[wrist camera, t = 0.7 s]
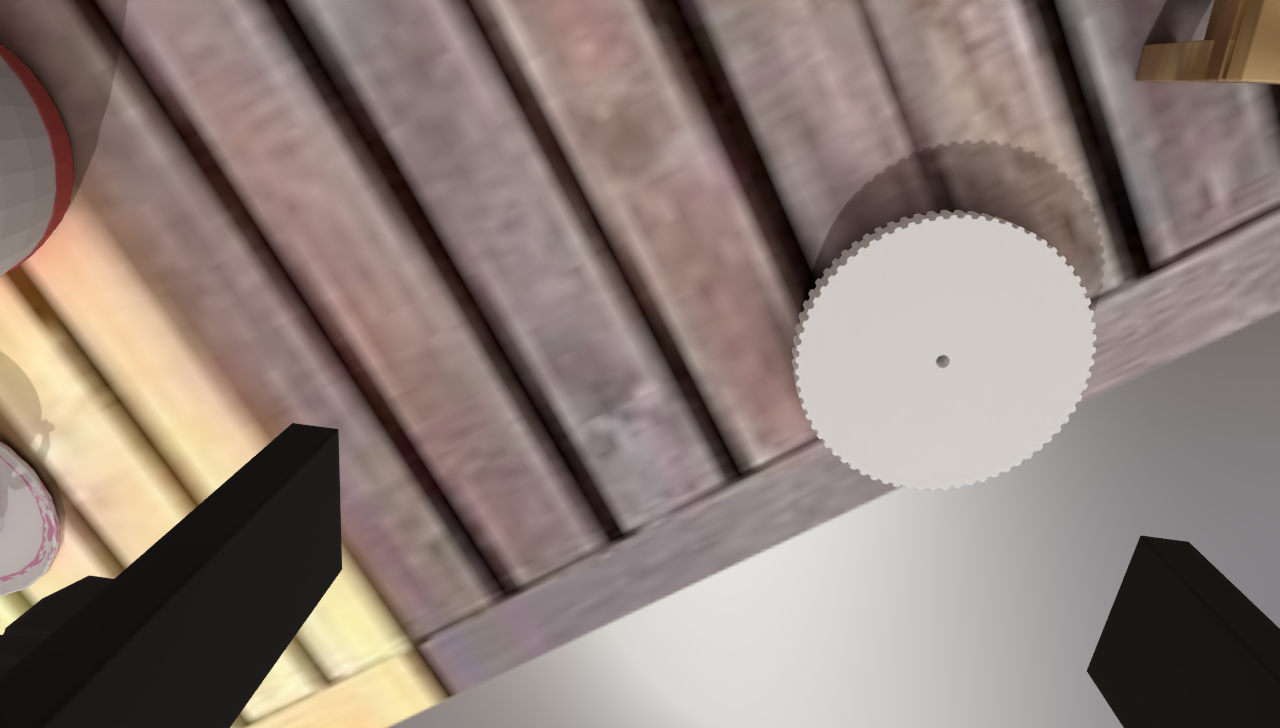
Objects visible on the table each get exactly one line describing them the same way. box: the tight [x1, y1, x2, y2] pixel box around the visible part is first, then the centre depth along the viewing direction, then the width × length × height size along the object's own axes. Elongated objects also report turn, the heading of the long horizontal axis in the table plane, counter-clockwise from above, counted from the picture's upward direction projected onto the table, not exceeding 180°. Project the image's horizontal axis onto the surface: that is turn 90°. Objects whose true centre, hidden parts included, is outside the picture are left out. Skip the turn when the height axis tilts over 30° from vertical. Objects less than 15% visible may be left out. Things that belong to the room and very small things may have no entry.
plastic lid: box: [792, 210, 1096, 491], centre depth 39 cm, size 14×14×2 cm
